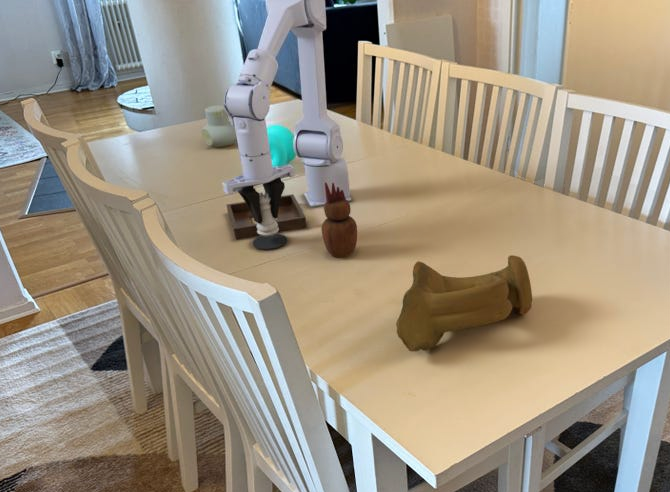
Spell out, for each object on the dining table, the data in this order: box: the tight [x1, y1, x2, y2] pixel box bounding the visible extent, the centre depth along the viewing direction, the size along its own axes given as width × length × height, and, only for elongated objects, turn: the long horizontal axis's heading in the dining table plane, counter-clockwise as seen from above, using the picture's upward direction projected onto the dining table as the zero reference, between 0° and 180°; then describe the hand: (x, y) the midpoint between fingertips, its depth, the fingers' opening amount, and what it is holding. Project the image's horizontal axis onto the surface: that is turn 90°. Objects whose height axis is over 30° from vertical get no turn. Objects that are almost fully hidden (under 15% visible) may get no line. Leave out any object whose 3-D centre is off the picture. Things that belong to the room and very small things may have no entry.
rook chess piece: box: [256, 191, 279, 236], centre depth 136 cm, size 4×4×8 cm
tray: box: [226, 194, 308, 241], centre depth 148 cm, size 15×14×2 cm
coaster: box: [252, 233, 288, 251], centre depth 140 cm, size 7×7×1 cm
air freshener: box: [200, 104, 237, 148], centre depth 190 cm, size 11×8×10 cm
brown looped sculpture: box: [396, 254, 533, 353], centre depth 108 cm, size 18×13×22 cm
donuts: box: [266, 124, 297, 167], centre depth 173 cm, size 10×10×10 cm
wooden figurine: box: [320, 182, 358, 258], centre depth 130 cm, size 7×6×15 cm
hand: (266, 219), depth 137 cm, fingers closed on rook chess piece, 3 cm apart
